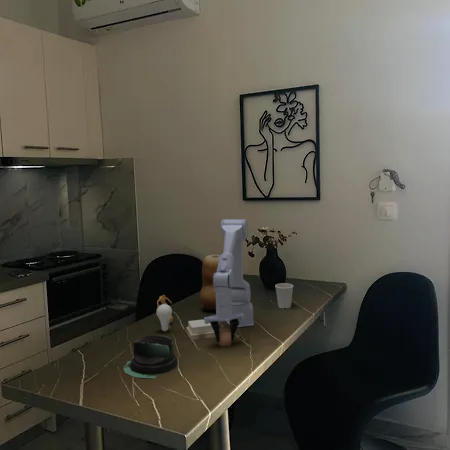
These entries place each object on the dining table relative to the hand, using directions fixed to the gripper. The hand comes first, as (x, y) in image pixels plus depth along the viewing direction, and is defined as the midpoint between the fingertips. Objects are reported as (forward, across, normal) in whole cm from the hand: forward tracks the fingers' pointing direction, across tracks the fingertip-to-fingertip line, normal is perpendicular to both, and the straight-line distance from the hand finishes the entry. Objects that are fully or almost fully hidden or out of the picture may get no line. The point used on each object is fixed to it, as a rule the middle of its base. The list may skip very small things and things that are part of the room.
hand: (224, 340), depth 173 cm
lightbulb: (+2, -19, +21) cm, 28 cm away
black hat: (+2, -27, -10) cm, 29 cm away
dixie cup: (+2, +38, +35) cm, 52 cm away
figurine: (+2, -17, +31) cm, 35 cm away
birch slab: (+2, -6, +13) cm, 14 cm away
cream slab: (0, -6, +13) cm, 15 cm away
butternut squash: (+2, +7, +42) cm, 43 cm away
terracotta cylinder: (+1, 0, 0) cm, 1 cm away
